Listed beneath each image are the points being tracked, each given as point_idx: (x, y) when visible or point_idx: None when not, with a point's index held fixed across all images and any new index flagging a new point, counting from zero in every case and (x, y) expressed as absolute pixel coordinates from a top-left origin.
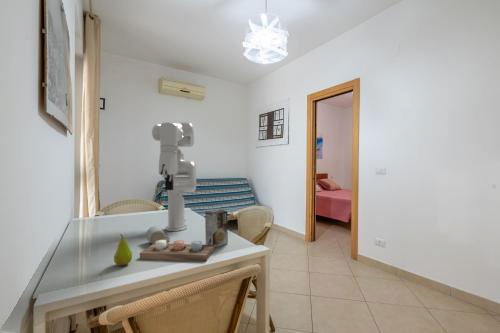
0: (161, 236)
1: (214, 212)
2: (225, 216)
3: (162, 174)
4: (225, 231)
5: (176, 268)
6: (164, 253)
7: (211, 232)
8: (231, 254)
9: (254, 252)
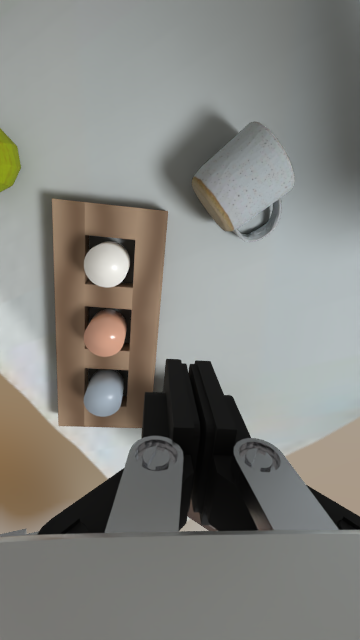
0: (218, 219)
1: None
2: None
3: (90, 550)
4: None
5: (4, 351)
6: (56, 298)
7: None
8: (121, 463)
9: None
